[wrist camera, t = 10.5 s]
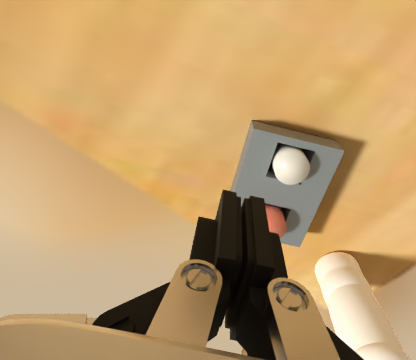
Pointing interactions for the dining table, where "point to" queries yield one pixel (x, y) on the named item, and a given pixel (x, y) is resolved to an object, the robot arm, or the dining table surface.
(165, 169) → the dining table surface
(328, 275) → the water bottle
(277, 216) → the red plug
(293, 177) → the domed peg
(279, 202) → the panel
